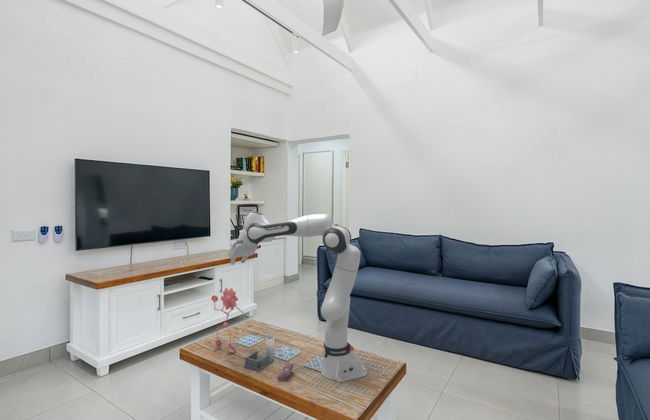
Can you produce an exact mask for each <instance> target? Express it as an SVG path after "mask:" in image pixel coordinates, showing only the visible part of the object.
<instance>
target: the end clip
mask: <svg viewBox="0 0 650 420" xmlns="http://www.w3.org/2000/svg"><path fill="white" fill-rule="evenodd" d="M274 360H275V359H274V358H270V355H269V354H268V355H266V354H265V356H264V355H261V354H259V355H258V351H254V352H253V353H251V354H249V355H248V356H246V357H245V362H244V363H245V364H243V368H245V369H247V370H248V369H249V370H252V371H255V372H258V373H260V372H261V371H263V370H264V369H265V368H266V367H268V366H269V365H271V364H273V362H274Z"/></svg>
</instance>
